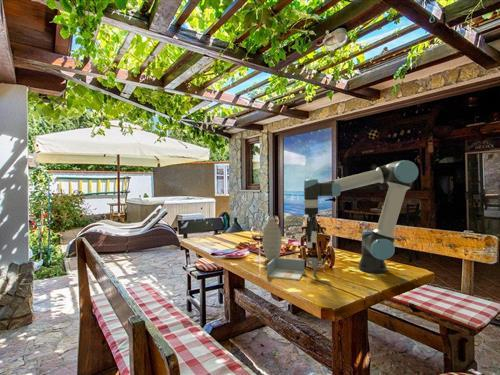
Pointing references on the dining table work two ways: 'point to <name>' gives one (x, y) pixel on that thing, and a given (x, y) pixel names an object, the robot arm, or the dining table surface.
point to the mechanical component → (314, 263)
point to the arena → (285, 268)
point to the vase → (272, 240)
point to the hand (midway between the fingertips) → (311, 245)
